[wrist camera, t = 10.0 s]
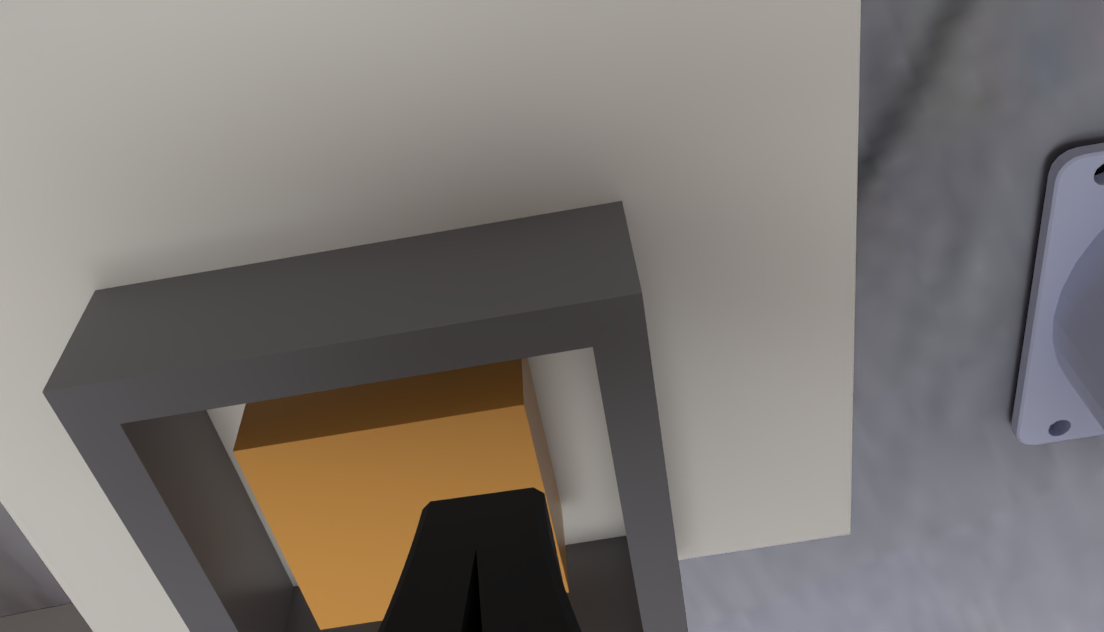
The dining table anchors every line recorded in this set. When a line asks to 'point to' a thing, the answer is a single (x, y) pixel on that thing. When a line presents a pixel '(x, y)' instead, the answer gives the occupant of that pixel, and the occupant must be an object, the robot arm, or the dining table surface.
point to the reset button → (387, 473)
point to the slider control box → (423, 272)
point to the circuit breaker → (46, 620)
